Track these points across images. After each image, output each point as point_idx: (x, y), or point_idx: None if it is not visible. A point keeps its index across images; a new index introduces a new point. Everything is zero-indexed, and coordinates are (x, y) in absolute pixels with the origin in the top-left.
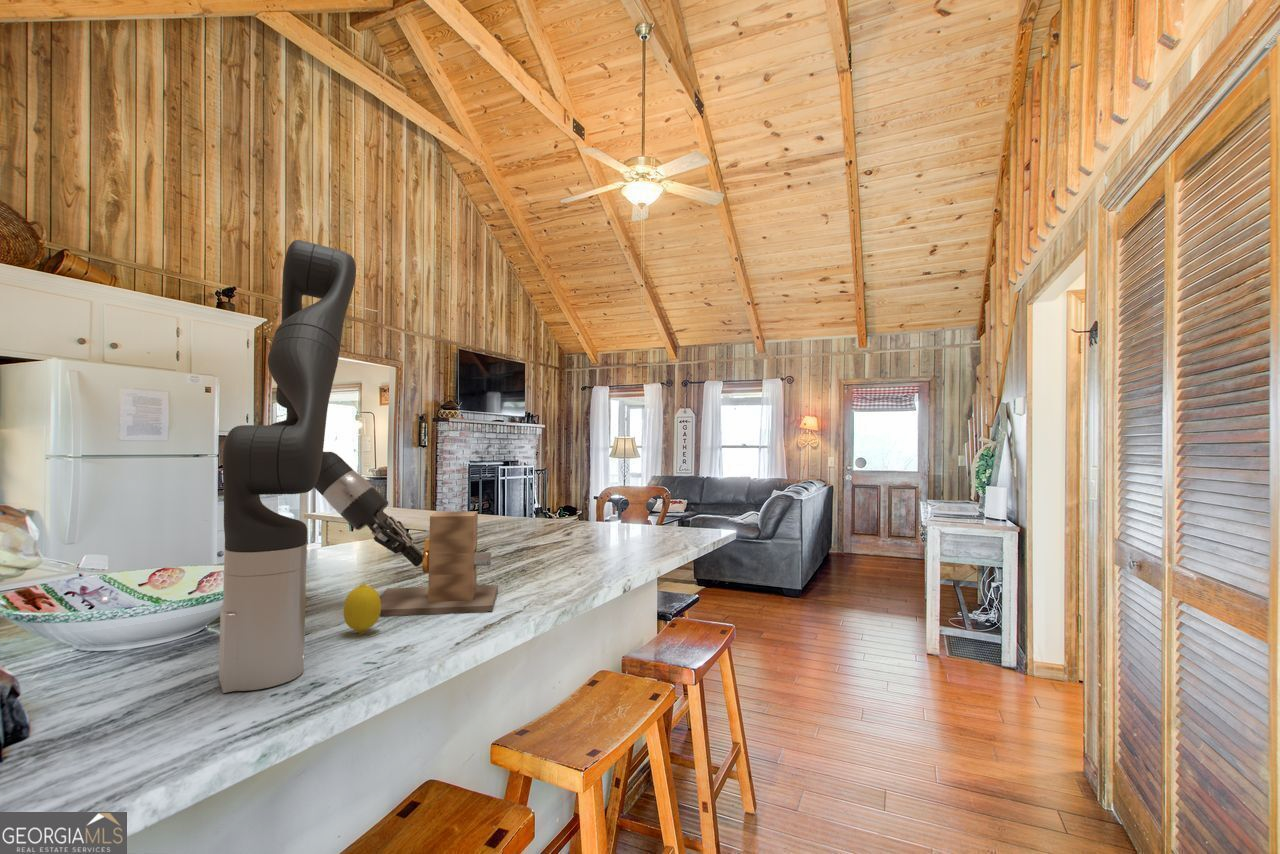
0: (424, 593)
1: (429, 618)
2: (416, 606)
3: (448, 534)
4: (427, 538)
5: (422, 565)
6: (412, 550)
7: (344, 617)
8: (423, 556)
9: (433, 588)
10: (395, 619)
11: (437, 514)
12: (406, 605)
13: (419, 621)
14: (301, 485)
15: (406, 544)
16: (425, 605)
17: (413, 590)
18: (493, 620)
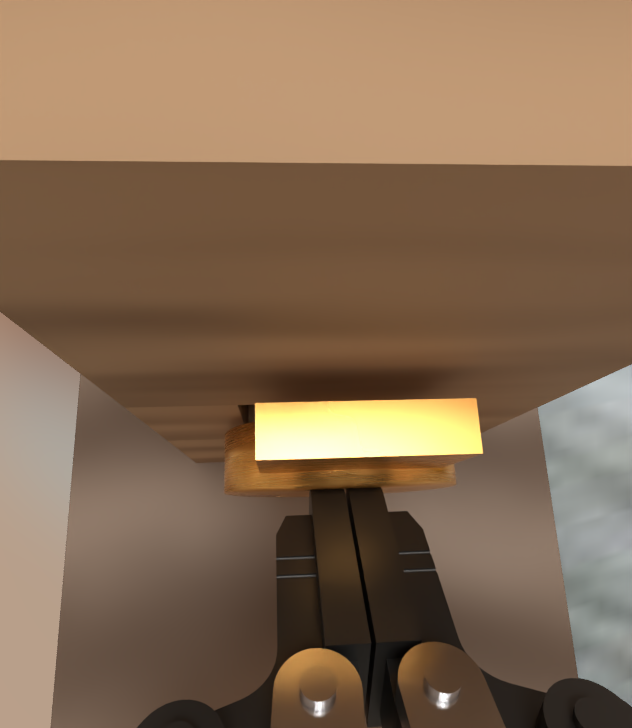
0: (238, 518)
1: (583, 419)
2: (517, 498)
3: None
4: (334, 447)
5: (443, 487)
6: (416, 612)
7: None
8: (454, 476)
9: None
10: (604, 581)
11: (582, 53)
12: (497, 560)
13: (629, 454)
14: None
15: (579, 681)
16: (495, 455)
17: (147, 609)
18: None
